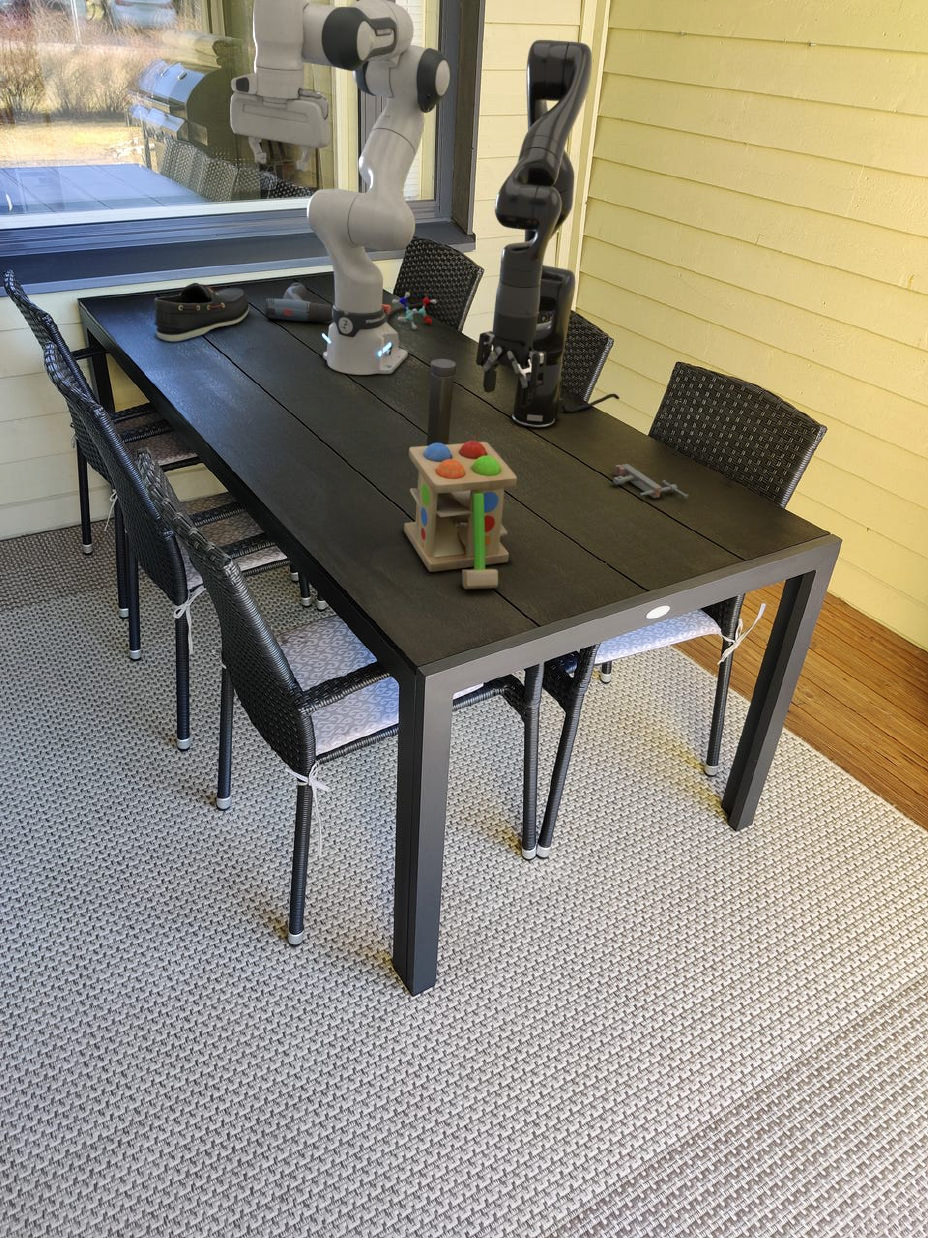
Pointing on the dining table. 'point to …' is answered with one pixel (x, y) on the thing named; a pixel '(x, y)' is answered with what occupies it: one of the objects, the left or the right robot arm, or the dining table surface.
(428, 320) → the molecular model
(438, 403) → the dark grey cylindrical bottle
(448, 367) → the lid
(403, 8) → the left robot arm
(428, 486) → the pounding bench toy
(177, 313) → the boat shoe
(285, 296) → the power drill
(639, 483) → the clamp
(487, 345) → the right robot arm
